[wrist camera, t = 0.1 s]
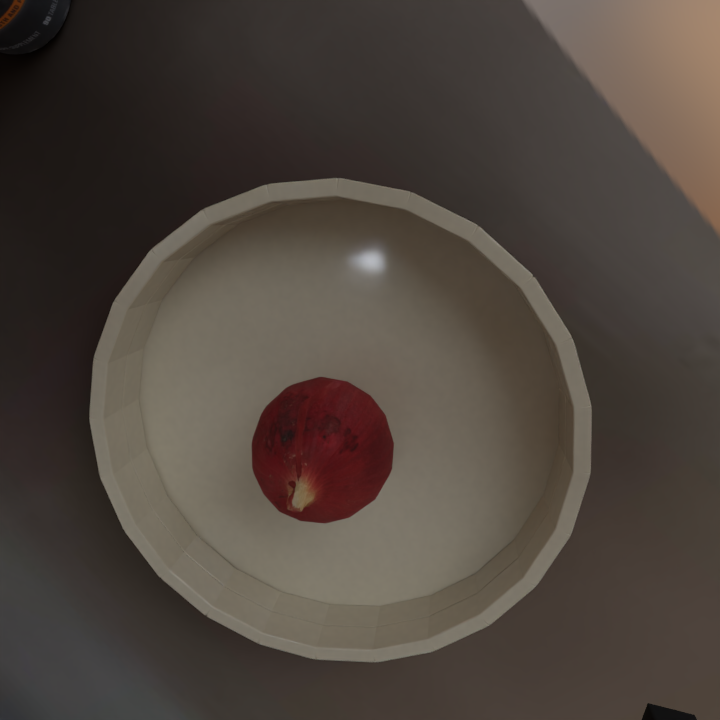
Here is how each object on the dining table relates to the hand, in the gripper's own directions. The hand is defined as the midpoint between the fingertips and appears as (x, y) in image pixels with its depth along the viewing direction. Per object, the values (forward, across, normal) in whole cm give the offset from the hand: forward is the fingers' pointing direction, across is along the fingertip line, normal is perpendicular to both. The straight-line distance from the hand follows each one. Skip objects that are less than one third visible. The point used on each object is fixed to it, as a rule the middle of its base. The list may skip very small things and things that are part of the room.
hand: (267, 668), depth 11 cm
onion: (+17, -2, -2) cm, 17 cm away
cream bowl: (+17, -2, -2) cm, 18 cm away
